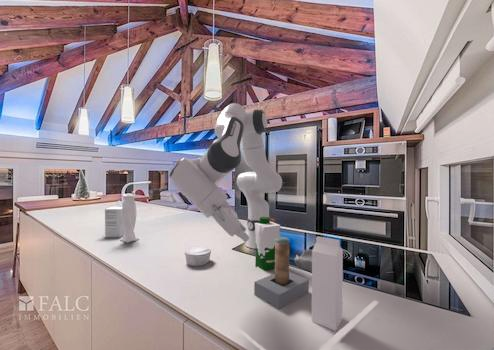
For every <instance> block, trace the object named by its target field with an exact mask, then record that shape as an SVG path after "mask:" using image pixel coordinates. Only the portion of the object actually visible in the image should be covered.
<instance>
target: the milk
mask: <svg viewBox="0 0 494 350" xmlns="http://www.w3.org/2000/svg"><path fill="white" fill-rule="evenodd" d="M340 245H341V242H340V240H339V239H338V238H337V239H335V238H330V237H326V236H325V237H323V236H318V235H317V236H316V238H315V243H314V246H313V249H311V250H312V272H311V322H312V323H315V324H317V325H319V326H323V327H325V328H327V329H330V330H333V331H335V332H336V331H337V329H338V327H339V325H340V324H341V322H342V320H343V280H344V279H343V273H344V272H343V269H344V268H343V266H344V264H343V263H344V261H343V260H344V259H343V255H344V253H343V251H344V250H343V248H342V247H341V246H340Z"/></svg>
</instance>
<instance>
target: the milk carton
mask: <svg viewBox="0 0 494 350" xmlns="http://www.w3.org/2000/svg"><path fill="white" fill-rule="evenodd" d="M269 219H270V217H269V218H268V217H260V222H257V223H255V231H256V249H255V261H254V262H255V268H260V269H261V270H262V271H264V272H266V271H271V270H275V238H277V237H279V232H280V229H281V224H278V223H276V222H274V223H273V222H270V221H269Z"/></svg>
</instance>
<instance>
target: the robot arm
mask: <svg viewBox="0 0 494 350" xmlns="http://www.w3.org/2000/svg"><path fill="white" fill-rule="evenodd" d="M267 125H268V119H267V116H266V113H265V112H264V110H261V109H253V110H246V109H245V108H244V107H243V105H241V104H240V103H236V102H233V103H229V104H228V105H227V106H226V107H224V109H223V110H222V111H221V112H220V114H219V116H218V117H217V120H216V122H215V124H214V133H215V135H216V137H217V138H216V139H215V140H213V142H212V143H211V145H210V146H209V147H208V148H207V150H206V151H205V153H204V154H203V155H202V156H201V157H198V158H192V159H191V158H186V157H183V158H180V159H179V161H177V162H176V164H175V165H174V167H172V169H171V171H170V173H169V180H170V182H171V183H172V185H174V187H175V188H176V189H177V190H178V191H179V192H180V193H181V194H182V195H183V196H184V197H185V198H187V199H189V200H190V201H191V202H192V204H193V205H194V207H196V209H197V210H198V211H199V212H200V213H201V214H202V215H203V216H204V217H206V218H207V219H209V218H210V217H212V218H213V219H214V220H215V222H216V223H217V224H218V225H219V226H220V227H221V228H222V229H223V230H224V231H225V233H226V234H228V235H229V236H231V237H234V236H237V238H239V239H241V240H242V241H243V242H245V243H244V246H245V247H247V248H250V249H255V250H256V231H255V223H257V222H260V217H268V218H269V221H270V222H273V223H276V222H275V221H276V219H275V218H270V204H269V202H268V201H267V200H265V199H264V198H263V197H262V195H261V194H262V193H263V194H271V193H277V192H279V191H280V190H281V188H282V187H283V178H282V177H281V175H280V173H278V172H276V171H275V170H274V168H272V167H271V165H270V164H269V162H268V159H267V155H266V151H265V145H264V139H263V136H262V134H263V133H264V132H265V131H266V130H267ZM241 149H242V152H241ZM242 156H243V161H244V162H245V164H246V166H248V167H250V168H251V169H252V170H253V171H245V172H241V173H239V174H238V176H237V178H236V186H237V188H238V189H239V190H240V192H242V193H243V196H244V197H245V198H246V202H247V213H248V215H247V216H248V217H247V219H246V221H247V225H246V226H247V228H246V227H245V226H244V225H243V224H242V222H241V221H240V220H239V217H238V214H237V212H236V211H235V209H234V208H233V207H232V205H230V203H229V202H228V201H227V199H228V195H227V194H225V192H224V191H223V190H222V189H221V188H220V187H219V186H218V185H217V184H219V183H220V182H221V181H222V180H223V179H224V178H225V177H226V176H227V175H229V174H230V173H231V172H232V171H233V170H235V169H236V168H238V166H240V163H241V160H242ZM246 231H247V232H246ZM279 237H281V234H280V231H279Z"/></svg>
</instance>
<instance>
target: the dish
mask: <svg viewBox="0 0 494 350" xmlns="http://www.w3.org/2000/svg"><path fill="white" fill-rule="evenodd" d="M312 250H313V249H305V250H303V251H302V254H301V255H300V256H299V255H298V254H296V255H295V257H294V264H295V265H296V266H297V269H300V270H303V271H306V272H311V273H312Z"/></svg>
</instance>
